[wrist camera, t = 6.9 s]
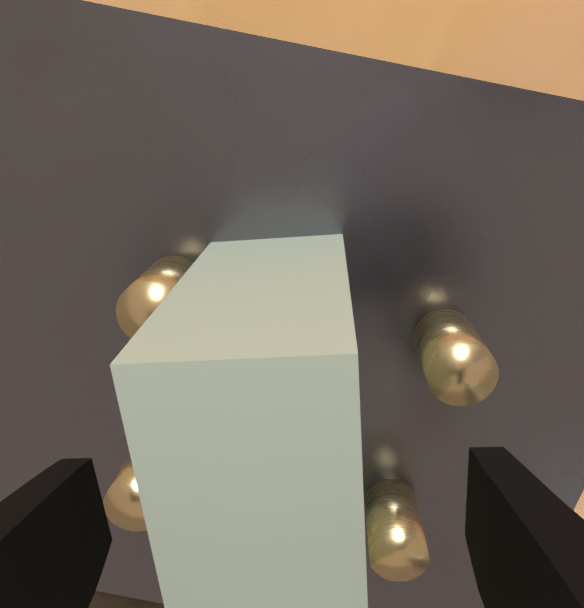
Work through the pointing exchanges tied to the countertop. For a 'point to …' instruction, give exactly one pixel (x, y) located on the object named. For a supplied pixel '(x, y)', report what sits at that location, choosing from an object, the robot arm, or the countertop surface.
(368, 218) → the standoff plate
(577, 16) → the countertop surface
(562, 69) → the countertop surface
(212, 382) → the sage block
